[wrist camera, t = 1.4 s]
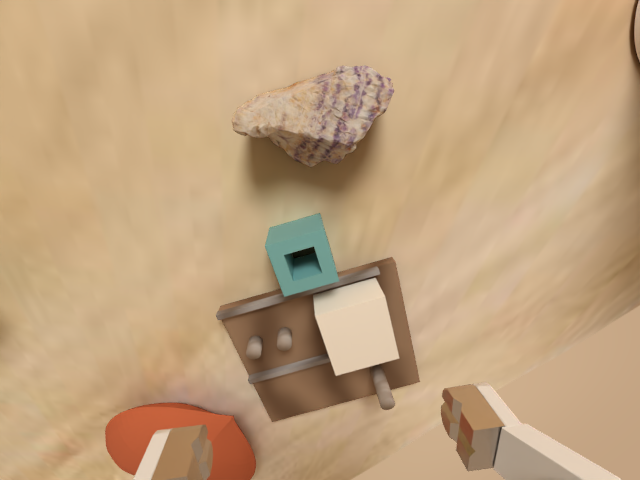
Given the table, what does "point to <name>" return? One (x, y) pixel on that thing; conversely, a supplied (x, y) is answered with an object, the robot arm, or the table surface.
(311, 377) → the base
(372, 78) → the mineral specimen
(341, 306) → the cover
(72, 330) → the table surface
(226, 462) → the sculpture
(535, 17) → the table surface
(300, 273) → the teal cube
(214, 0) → the table surface
